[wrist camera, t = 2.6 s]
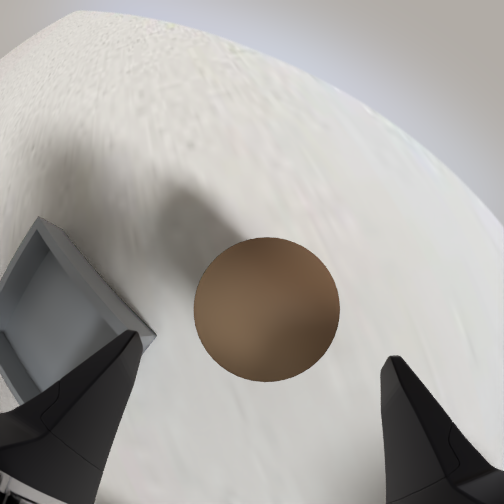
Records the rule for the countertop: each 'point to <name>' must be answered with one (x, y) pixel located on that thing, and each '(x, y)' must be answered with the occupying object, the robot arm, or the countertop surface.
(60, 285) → the tote
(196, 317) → the walnut cylinder
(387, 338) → the countertop surface
